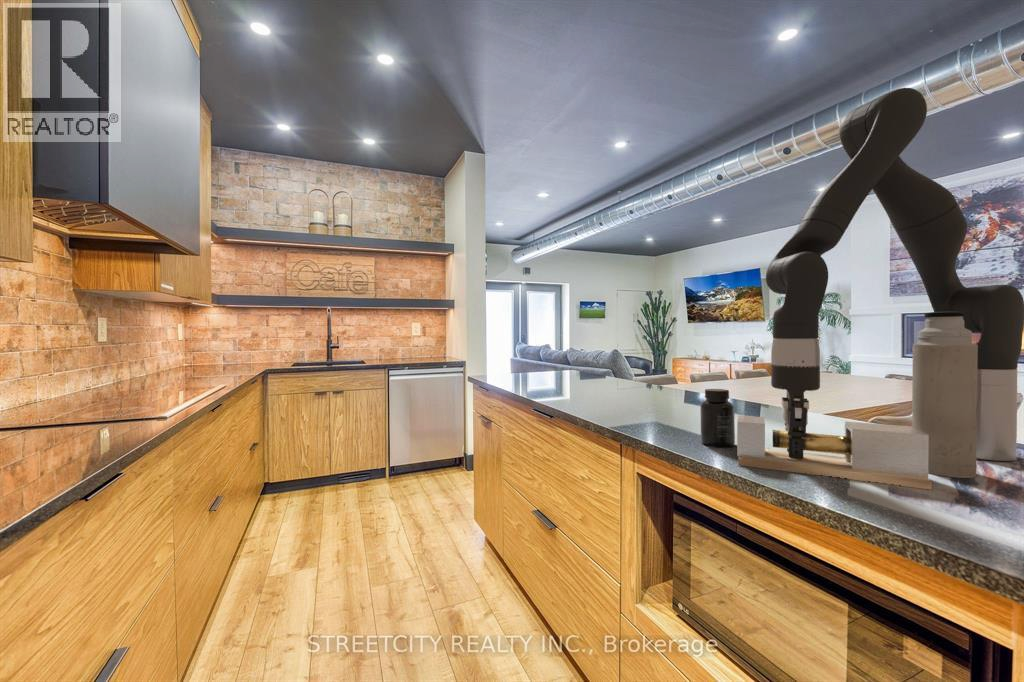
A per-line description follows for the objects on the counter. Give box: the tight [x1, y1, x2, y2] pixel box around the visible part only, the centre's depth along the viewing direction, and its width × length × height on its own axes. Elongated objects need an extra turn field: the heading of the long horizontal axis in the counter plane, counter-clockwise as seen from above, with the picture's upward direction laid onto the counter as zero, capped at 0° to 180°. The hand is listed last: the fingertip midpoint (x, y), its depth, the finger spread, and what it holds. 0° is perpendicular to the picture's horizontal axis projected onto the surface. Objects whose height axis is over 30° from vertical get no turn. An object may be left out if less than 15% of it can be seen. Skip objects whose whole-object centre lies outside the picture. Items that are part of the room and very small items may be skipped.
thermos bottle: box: [911, 311, 978, 479], centre depth 75 cm, size 8×8×28 cm
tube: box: [772, 429, 851, 456], centre depth 77 cm, size 16×3×3 cm, turn 61°
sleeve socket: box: [736, 414, 929, 479], centre depth 77 cm, size 7×27×7 cm, turn 61°
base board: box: [738, 448, 933, 490], centre depth 77 cm, size 10×26×1 cm, turn 61°
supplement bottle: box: [699, 388, 736, 448], centre depth 94 cm, size 7×7×12 cm
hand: (794, 455), depth 79 cm, fingers closed on tube, 3 cm apart
